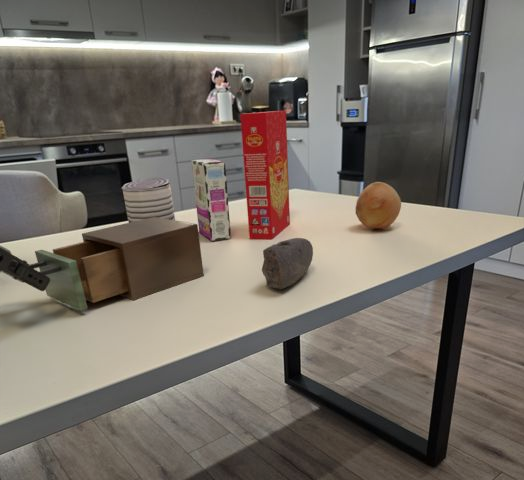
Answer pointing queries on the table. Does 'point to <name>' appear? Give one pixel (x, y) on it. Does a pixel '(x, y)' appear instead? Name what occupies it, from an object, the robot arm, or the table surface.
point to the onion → (378, 205)
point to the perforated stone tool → (286, 262)
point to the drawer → (82, 273)
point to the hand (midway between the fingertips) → (36, 280)
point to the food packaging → (266, 172)
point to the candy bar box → (211, 198)
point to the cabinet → (154, 253)
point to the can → (148, 199)
